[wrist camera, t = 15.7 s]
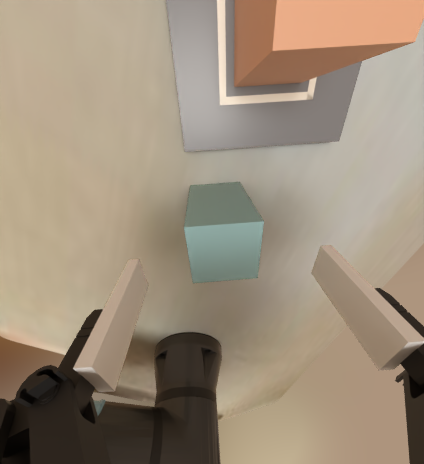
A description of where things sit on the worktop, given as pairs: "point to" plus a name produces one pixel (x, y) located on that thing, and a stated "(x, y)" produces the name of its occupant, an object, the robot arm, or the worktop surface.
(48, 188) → the worktop surface
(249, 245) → the teal block
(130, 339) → the robot arm
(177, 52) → the base plate
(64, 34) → the worktop surface
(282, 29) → the terracotta block
